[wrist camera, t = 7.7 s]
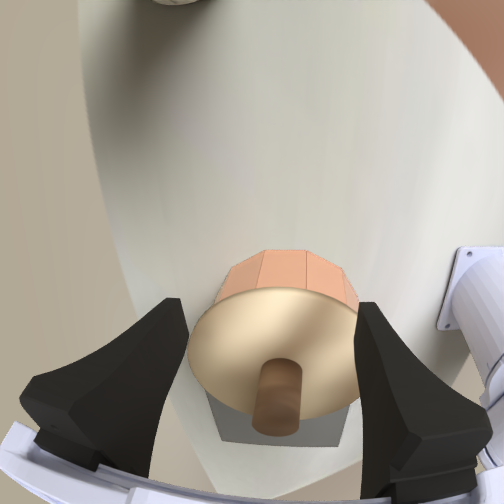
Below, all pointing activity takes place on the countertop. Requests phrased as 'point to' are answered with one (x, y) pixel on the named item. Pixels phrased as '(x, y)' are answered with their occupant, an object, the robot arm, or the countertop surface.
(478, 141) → the countertop surface
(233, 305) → the lid
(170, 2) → the spray can
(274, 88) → the countertop surface
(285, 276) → the bowl
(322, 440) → the mat
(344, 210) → the countertop surface
